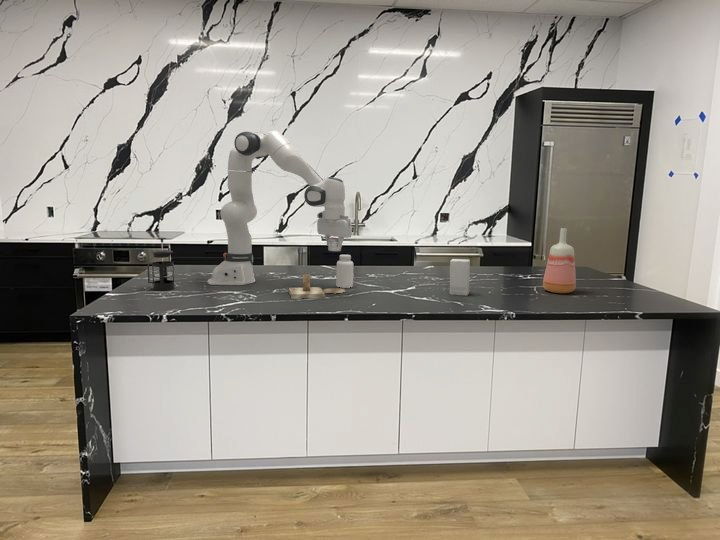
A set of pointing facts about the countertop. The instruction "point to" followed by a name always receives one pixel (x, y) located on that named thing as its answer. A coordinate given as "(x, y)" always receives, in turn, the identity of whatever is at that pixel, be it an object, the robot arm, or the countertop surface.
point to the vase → (560, 267)
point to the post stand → (306, 290)
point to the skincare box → (459, 276)
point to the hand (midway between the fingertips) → (334, 246)
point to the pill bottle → (344, 272)
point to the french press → (162, 271)
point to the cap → (333, 244)
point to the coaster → (333, 290)
